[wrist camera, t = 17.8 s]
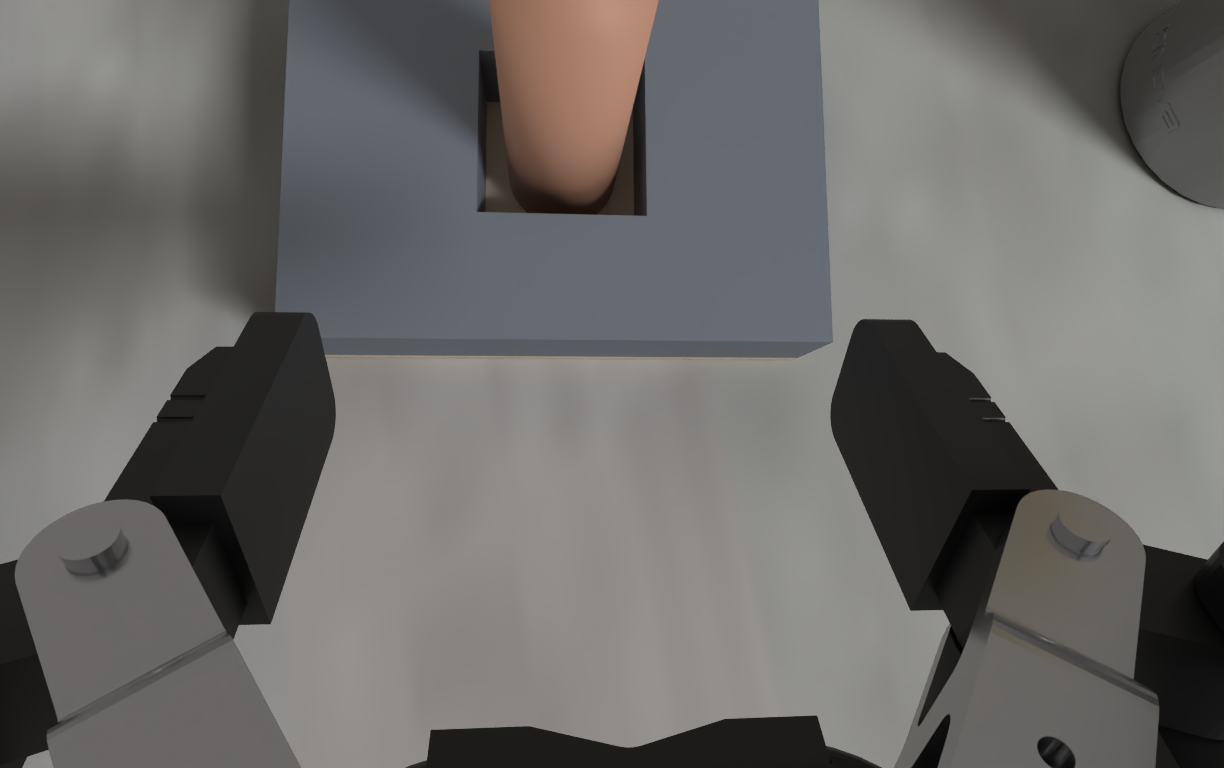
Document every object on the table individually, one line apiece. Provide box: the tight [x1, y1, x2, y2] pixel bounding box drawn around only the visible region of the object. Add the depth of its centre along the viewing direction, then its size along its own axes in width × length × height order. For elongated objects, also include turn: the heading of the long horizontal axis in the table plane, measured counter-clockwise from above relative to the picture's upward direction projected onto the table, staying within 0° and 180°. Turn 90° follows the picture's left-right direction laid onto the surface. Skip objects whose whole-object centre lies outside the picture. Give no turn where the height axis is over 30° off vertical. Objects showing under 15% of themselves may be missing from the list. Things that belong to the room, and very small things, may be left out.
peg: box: [489, 0, 659, 215], centre depth 22 cm, size 4×4×12 cm
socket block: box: [275, 0, 833, 360], centre depth 27 cm, size 18×14×4 cm
